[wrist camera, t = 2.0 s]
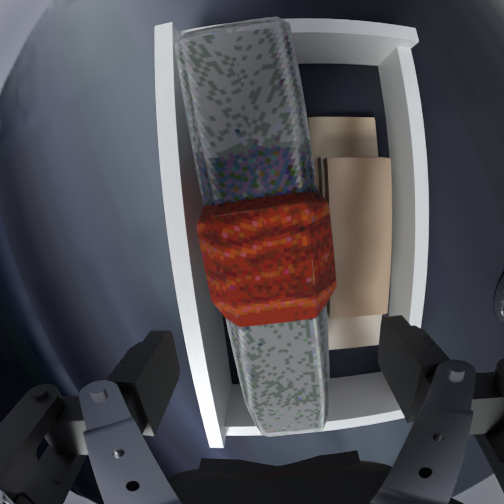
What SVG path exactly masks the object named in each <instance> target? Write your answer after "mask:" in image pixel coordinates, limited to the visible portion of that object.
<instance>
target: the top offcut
mask: <svg viewBox="0 0 504 504" xmlns="http://www.w3.org/2000/svg"><path fill="white" fill-rule="evenodd" d="M323 164H324V183H325V200H326V201H327V202H328V204H329V210H330V218H331V227H332V237H333V247H334V258H335V270H336V283H337V287H336V288H335V290H334V292H333V294H332V295H331V297H330V299H329V301H328V302H327V304H326V305H327V314H328V316H329V319H336V318H348V317H359V316H369V315H379V314H387V309H388V298H389V286H390V270H391V249H392V178H391V158H325V159H323Z"/></svg>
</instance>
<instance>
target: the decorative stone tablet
mask: <svg viewBox="0 0 504 504" xmlns="http://www.w3.org/2000/svg"><path fill="white" fill-rule="evenodd" d="M175 51H176V57H177V64H178V70H179V76H180V82H181V88H182V94H183V100H184V106H185V111H186V117H187V123H188V128H189V134H190V139H191V144H192V150H193V155H194V160H195V165H196V171H197V176H198V181H199V186H200V191H201V196H202V201H203V205H204V206H203V209H202V211H201V214H200V217H199V220H198V223H197V225H196V228H197V233H198V238H199V243H200V248H201V253H202V258H203V263H204V268H205V272H206V277H207V282H208V287H209V291H210V296H211V300H212V302H213V303H214V304H215V306H216V307H217V308H218V309H219V311H220V312H221V313H222V314H223V315H224V317H225V318H226V323H227V328H228V332H229V337H230V341H231V346H232V350H233V355H234V359H235V363H236V368H237V372H238V376H239V381H240V385H241V389H242V393H243V397H244V401H245V404H246V406H247V408H248V411H249V413H250V415H251V417H252V419H253V421H254V423H255V425H256V427H257V428H258V430H259V431H260V433H261V434H262V435H266V436H267V437H270V436H281V435H290V434H299V433H309V432H318V431H322V430H323V429H324V426H325V424H326V421H327V418H328V410H329V396H330V368H329V341H328V321H327V305H326V304H327V302H328V301H329V299H330V297H331V295H332V294H333V292H334V290H335V288H336V287H337V283H336V270H335V258H334V247H333V237H332V227H331V218H330V210H329V204H328V202H327V201H326V200H325V198H324V197H323V196H322V195H321V193H320V192H319V191H318V189H317V186H316V178H315V170H314V162H313V154H312V147H311V140H310V133H309V126H308V120H307V113H306V107H305V101H304V95H303V89H302V83H301V78H300V72H299V67H298V62H297V57H296V51H295V46H294V42H293V37H292V32H291V27H290V23H289V22H287V21H285V20H283V19H281V18H279V17H268V18H260V19H253V20H246V21H239V22H233V23H228V24H222V25H217V26H212V27H207V28H203V29H198V30H194V31H190V32H186V33H184V34H183V35H182V36H181V37H180V39H179V40H178V41H177V42H176V43H175Z"/></svg>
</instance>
